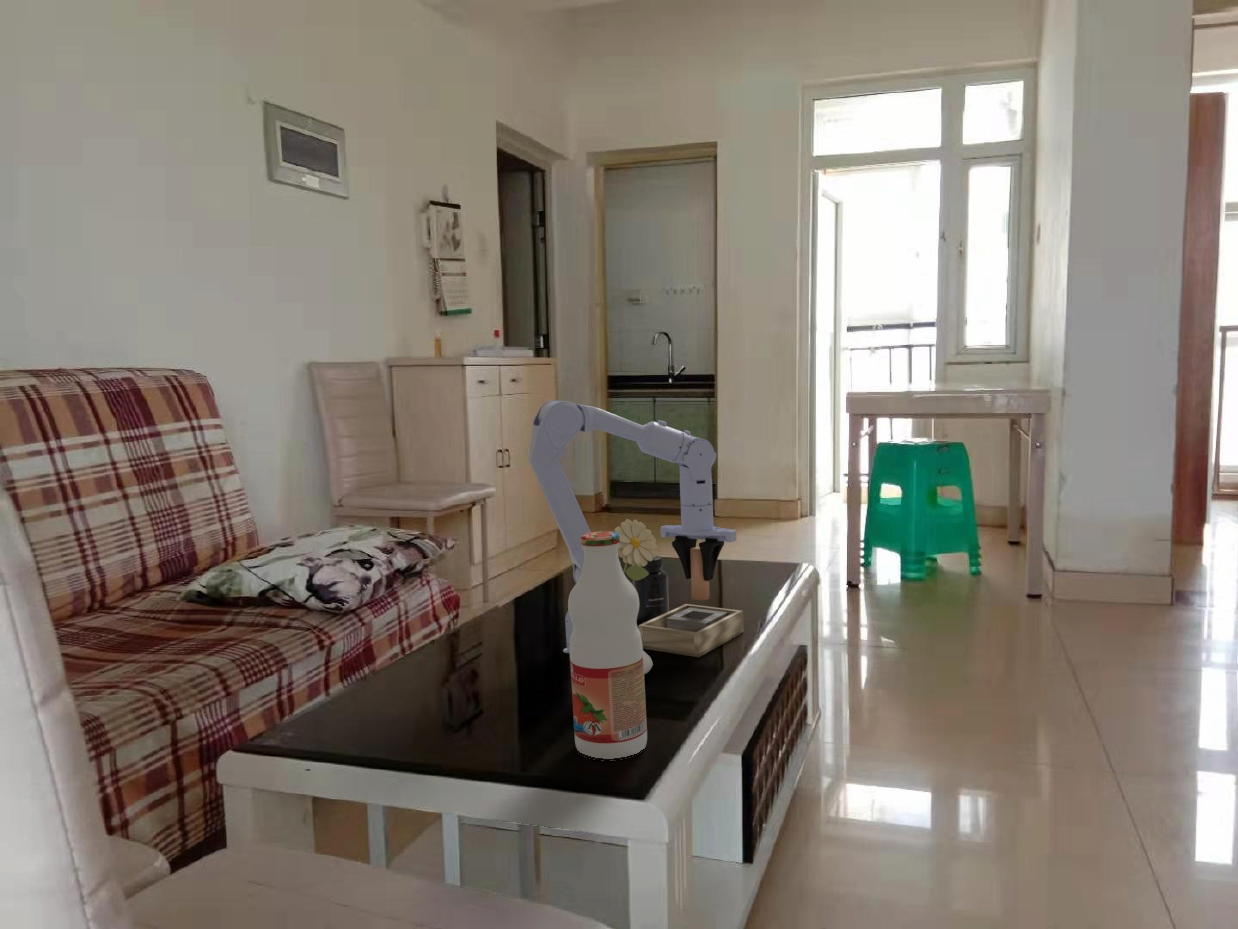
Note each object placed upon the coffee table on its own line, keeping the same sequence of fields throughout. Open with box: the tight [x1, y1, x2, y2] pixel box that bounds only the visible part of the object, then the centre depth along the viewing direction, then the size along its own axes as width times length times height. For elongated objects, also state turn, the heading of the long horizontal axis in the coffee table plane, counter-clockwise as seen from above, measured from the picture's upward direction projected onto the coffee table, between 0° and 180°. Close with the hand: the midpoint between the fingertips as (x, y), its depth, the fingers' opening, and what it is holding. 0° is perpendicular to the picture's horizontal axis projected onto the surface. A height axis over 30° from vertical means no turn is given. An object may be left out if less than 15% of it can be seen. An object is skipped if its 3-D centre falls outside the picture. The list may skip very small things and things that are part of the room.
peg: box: [690, 546, 710, 601], centre depth 167 cm, size 3×3×9 cm
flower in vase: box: [614, 518, 658, 675], centre depth 147 cm, size 13×11×25 cm
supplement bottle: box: [632, 555, 670, 623], centre depth 180 cm, size 7×7×12 cm
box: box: [637, 603, 745, 658], centre depth 165 cm, size 16×12×4 cm
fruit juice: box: [567, 530, 648, 759], centre depth 119 cm, size 9×9×28 cm
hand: (699, 578), depth 167 cm, fingers closed on peg, 3 cm apart
